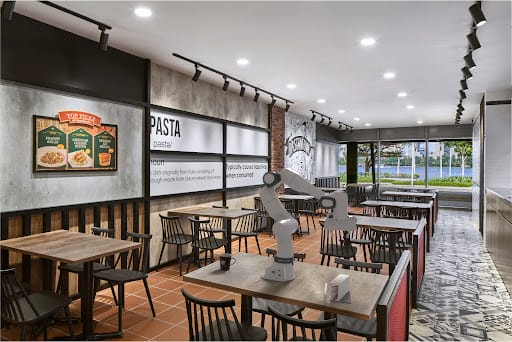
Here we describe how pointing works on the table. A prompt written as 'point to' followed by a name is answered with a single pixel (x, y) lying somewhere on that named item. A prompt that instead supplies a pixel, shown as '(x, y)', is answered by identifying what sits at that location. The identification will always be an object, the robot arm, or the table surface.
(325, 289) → the low wall
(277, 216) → the robot arm
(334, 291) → the white boxy piece
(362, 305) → the table surface
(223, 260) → the coffee mug
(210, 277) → the table surface
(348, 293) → the mat
